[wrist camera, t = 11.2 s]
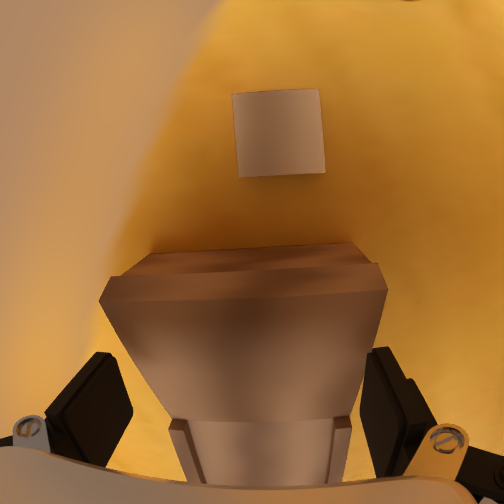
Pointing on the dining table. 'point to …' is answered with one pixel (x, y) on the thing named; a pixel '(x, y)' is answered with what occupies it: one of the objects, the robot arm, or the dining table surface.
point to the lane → (253, 355)
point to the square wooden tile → (278, 133)
